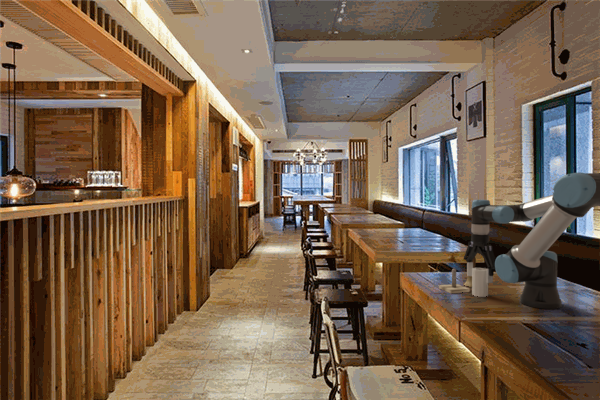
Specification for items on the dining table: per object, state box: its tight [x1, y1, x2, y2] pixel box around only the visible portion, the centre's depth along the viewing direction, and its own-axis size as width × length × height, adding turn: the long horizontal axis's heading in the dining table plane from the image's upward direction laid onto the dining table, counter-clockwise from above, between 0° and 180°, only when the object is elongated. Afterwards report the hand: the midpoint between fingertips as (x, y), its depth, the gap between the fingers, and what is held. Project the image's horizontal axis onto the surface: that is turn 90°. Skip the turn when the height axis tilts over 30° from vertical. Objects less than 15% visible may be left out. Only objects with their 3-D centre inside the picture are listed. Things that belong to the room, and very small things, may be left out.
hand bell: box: [463, 256, 477, 288], centre depth 206 cm, size 8×8×16 cm
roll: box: [471, 267, 489, 298], centre depth 188 cm, size 7×7×12 cm
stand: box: [438, 268, 471, 294], centre depth 197 cm, size 10×10×10 cm
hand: (479, 279), depth 189 cm, fingers open, 13 cm apart
